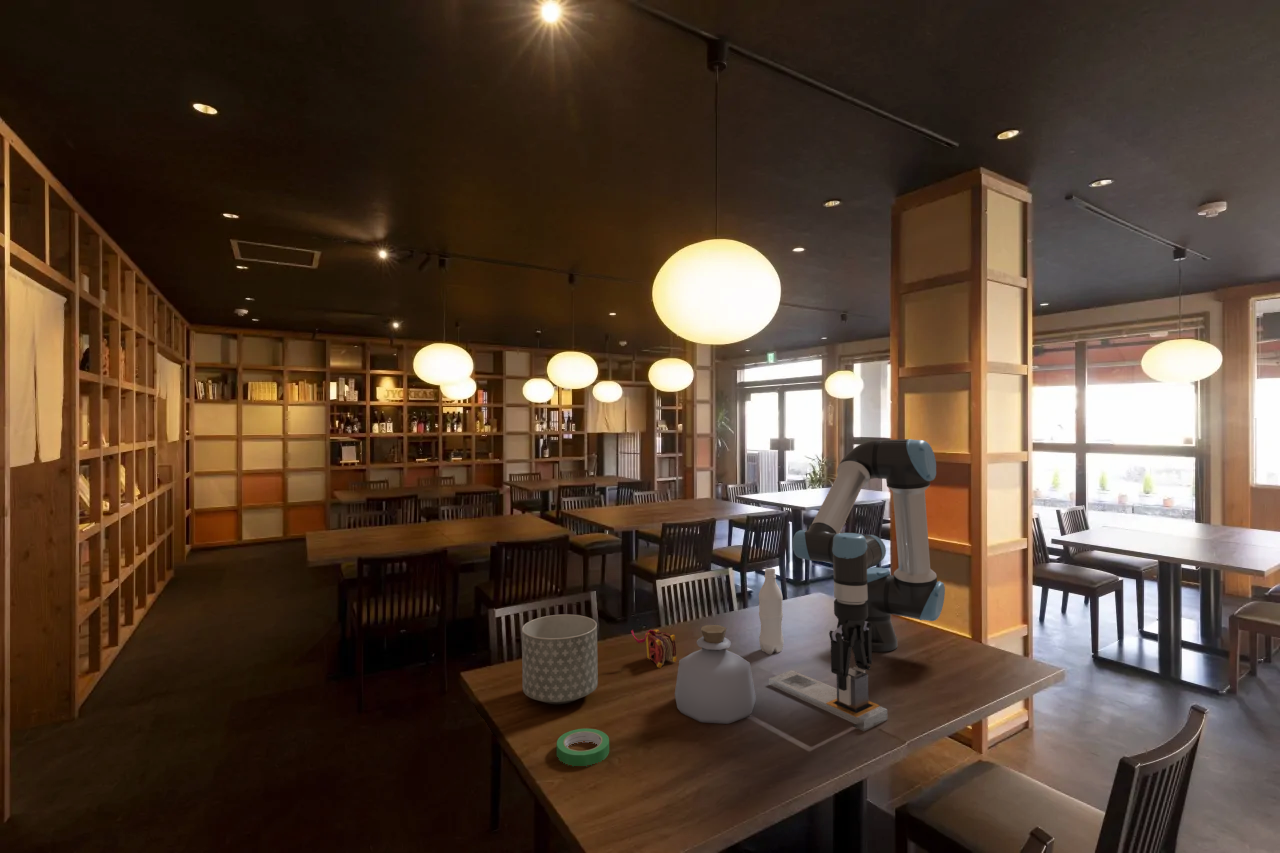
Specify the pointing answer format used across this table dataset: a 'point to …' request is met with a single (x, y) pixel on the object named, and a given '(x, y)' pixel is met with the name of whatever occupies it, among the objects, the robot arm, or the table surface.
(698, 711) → the bottle
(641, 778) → the table surface
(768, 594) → the water bottle
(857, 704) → the grey tall square block
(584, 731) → the tape roll
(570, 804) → the table surface
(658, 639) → the book monster
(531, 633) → the planter
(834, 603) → the robot arm
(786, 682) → the rail
